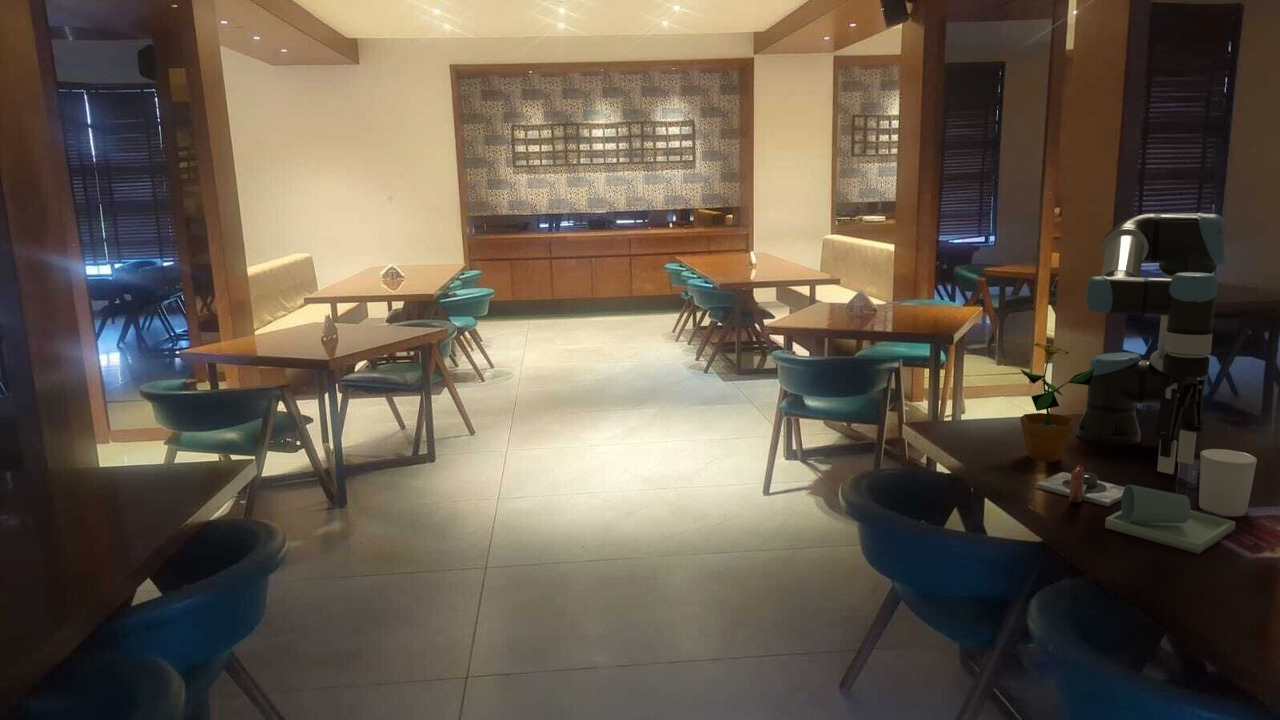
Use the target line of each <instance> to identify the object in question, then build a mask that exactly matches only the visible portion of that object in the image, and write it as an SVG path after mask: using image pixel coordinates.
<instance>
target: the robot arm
mask: <svg viewBox="0 0 1280 720" xmlns="http://www.w3.org/2000/svg"><path fill="white" fill-rule="evenodd" d="M1224 230H1225V229H1224V218H1223V217H1222V216H1221V215H1220V214H1217V213H1203V212H1198V213H1145V214H1140V215H1139V214H1138V215H1136V216H1132V217H1129V218H1126V219H1125V220H1123V221H1120V223H1118V224H1116V225H1115V226H1114V227H1112V228H1111V229H1110V230H1109V231H1108V232H1107V233H1106V235H1105V237H1104V238H1103V240H1102V244H1101V253H1102V256H1103V263H1102V267H1101V274H1100V276H1091V277H1089V279H1088V280H1087V285H1086V295H1085V296H1086V297H1085V308H1086V310H1087V311H1089V312H1093V313H1102V314H1122V315H1123V314H1125V315H1148V316H1152V315H1153V316H1160V323H1159V335H1158V343H1157V350H1155V351H1154V352H1153V353H1151V354H1150V357H1149V360H1148V359H1147V360H1146V359H1142V357H1141V355H1140V354H1139V353H1135V352H1126V351H1125V352H1122V351H1121V352H1109V353H1103V354H1099V355H1096V356H1094V357H1093V358H1092V359H1091V360H1090V363H1089V364H1090V365H1089V370H1092V369H1094V372H1093V376H1092V379H1091V383H1090V385H1087V394H1086V396H1087V397H1086V408H1085V410H1084V413H1083V415H1082V417H1081V420H1080V421H1079V423H1078V426H1077V432H1076V435H1077V437H1078V438H1080V439H1082V440H1083V441H1087V442H1089V443H1090V442H1091V443H1093V444H1100V445H1108V446H1131V445H1137V444H1139V443H1140V442H1141V435H1142V433H1141V430H1140V426H1139V422H1138V418H1137V415H1136V405H1137V404H1140V405H1141V404H1142V405H1153V406H1159V410H1158V417H1157V421H1156V427H1155V433H1154V438H1155V439H1158V440H1159V448H1158V456H1157V457H1158V458H1157V468H1156V471H1157V472H1160V473H1165V474H1170V475H1173V474H1175V468H1176V467H1175V466H1176V462H1177V463H1182V464H1188V465H1194V460H1195V453H1196V444H1197V443H1196V441H1197V433H1202V432H1203V429H1204V428H1203V427H1202V426H1203V419H1204V418H1203V416H1204V414H1203V413H1204V395H1205V392H1206V390H1207V383H1208V380H1209V372H1210V371H1209V370H1210V362H1211V360H1210V359H1211V358H1210V356H1208V355H1210V354H1211V353H1212V343H1213V334H1214V333H1213V327H1214V319H1215V313H1216V303H1217V296H1218V294H1219V293H1218V292H1219V289H1218V281H1219V280H1218V277H1217V275H1215V274H1214V273H1215V272H1216V270H1217V266H1220V265H1223V264H1225V260H1226V259H1225V257H1226V256H1225V236H1224V235H1225V233H1224V232H1225V231H1224ZM1143 263H1146V264H1147V263H1150V264H1158V268H1159V271H1160V272H1161V273H1162V274H1163V275H1165V277H1141V274H1142V264H1143ZM1180 422H1181V427H1182V429H1180V430H1179V436H1178V441H1177V440H1176V436H1177V434H1178V429H1179V427H1180V426H1179V425H1180ZM1177 444H1178V445H1177ZM1177 446H1178V447H1177ZM1176 456H1177V457H1176Z"/></svg>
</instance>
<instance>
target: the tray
mask: <svg viewBox="0 0 1280 720" xmlns="http://www.w3.org/2000/svg"><path fill="white" fill-rule="evenodd" d="M1104 524H1105V525H1104V528H1105V529H1108V530H1111V531H1115V532H1119V533H1123V534H1127V535H1130V536H1133V537H1137V538H1141V539H1144V540H1148V541H1152V542H1154V543H1159V544H1162V545H1166V546H1170V547H1172V548H1177V549H1181V550H1184V551H1188V552H1190V553H1194V554H1198V555H1200V554H1201V553H1203V552H1204V551H1205V550H1208V549H1209V548H1210V547H1212V546H1214V545H1215V544H1216V543H1218V542H1219V541H1218V539H1220V538H1222V537H1224V536H1226V535H1227V534H1229V533H1230V532H1232V531H1233V530H1236V521H1235V520H1230V519H1227V518H1223V517H1218V516H1215V515H1211V514H1206V513H1202V512H1198V511H1195V510H1191V509H1190V517H1189V519H1188V521H1187V522H1186V523H1127V522H1125V520H1124V518H1123V515H1122V509H1121V510H1119V511H1117V512H1115V513H1113V514H1111V515H1109V516H1108V517H1106V518H1105V522H1104ZM1233 532H1234V531H1233ZM1233 532H1232V533H1233ZM1230 534H1231V533H1230ZM1230 534H1229V535H1230ZM1227 536H1228V535H1227ZM1227 536H1226V537H1227ZM1224 538H1225V537H1224ZM1222 539H1223V538H1222ZM1217 541H1218V542H1217Z"/></svg>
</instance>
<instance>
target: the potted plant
mask: <svg viewBox="0 0 1280 720" xmlns="http://www.w3.org/2000/svg"><path fill="white" fill-rule="evenodd" d="M1033 346H1035V347H1038V348H1041V349H1043V351H1044V352H1045V354H1047V355H1048V356H1047V360H1046V364H1045V367H1044V373H1043V375H1041V374H1034V373H1031V372H1029V371H1026V370H1024V369H1022V368H1019V370H1020V372H1021V373H1022V374H1023V376H1025V377H1027V379H1028V380H1029V381H1030V382H1031V383H1032V384H1033V385H1035V384H1036V383H1037V382H1039V381H1040V380H1041V381H1042V387H1043V388H1042V389H1043V393H1039V394H1035V395H1031V396H1030V398H1031V400H1032V402H1033V405H1034V408H1035V410H1036V412H1035V413H1024V414H1023V415H1021V416H1020V418H1019V420H1020V424H1021V429H1022V434H1023V437H1024V438H1023V439H1024V442H1025V447H1026V450H1027V455H1028V457H1029V458H1030V459H1032V460H1034V461H1039V462H1042V463H1043V462H1045V463H1046V462H1047V463H1051V462H1052V463H1056V462H1058V461H1061V460H1062V456H1063V454H1064V451H1065V449H1066V446H1067V443H1068V441H1069V439H1070V435H1071V433H1072V431H1073V429H1074V425H1075V421H1074V420H1073V418H1072V417H1067V416H1064V415H1060V414H1058V413H1057V414H1055V413H1050V409H1053V408H1054V409H1055V408H1057V407H1060V404H1059V402H1058V400H1057V397H1056V395H1055V393H1057V394H1059V395H1060V396H1063V397H1064V395H1063V394H1062V393H1061V392H1060V389H1061V388H1063V387H1064V386H1066V385H1067V384H1076V385H1083V386H1088V385H1090V383H1091V379H1092V376H1093V372H1094V369H1092V370H1090V369H1088V370H1086V371H1084V372H1080V373H1078V374H1075V375H1073V376H1072V377H1071V378H1070V379H1069V381H1067V382H1064V383H1063V384H1061V385H1060V386H1058V387H1056V386H1055V385H1053V384H1052V383H1050V382H1048V381H1047V379H1046V375H1047V374H1046V373H1047V369H1048V365H1049V360H1050V357H1051V356H1052V355H1055V354H1057V353H1059V354H1061V355H1062V354H1063V355H1068V354H1070V352H1069V351H1066V350H1063V349H1061V348H1058V347H1055V346H1051V345H1046V344H1041V343H1034V344H1033ZM1046 387H1047V389H1046ZM1043 410H1046V413H1044V412H1040V411H1043Z"/></svg>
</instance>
